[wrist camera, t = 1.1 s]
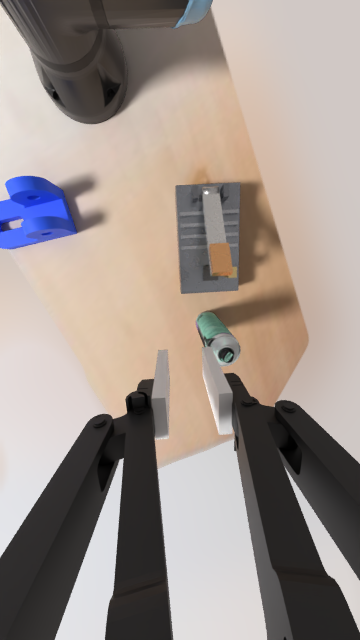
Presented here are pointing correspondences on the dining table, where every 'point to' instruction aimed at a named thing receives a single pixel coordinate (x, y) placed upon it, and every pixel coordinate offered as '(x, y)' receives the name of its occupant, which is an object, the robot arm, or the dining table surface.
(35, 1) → the robot arm
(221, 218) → the bar
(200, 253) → the finned block
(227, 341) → the spray can
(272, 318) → the dining table surface
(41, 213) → the bracket
